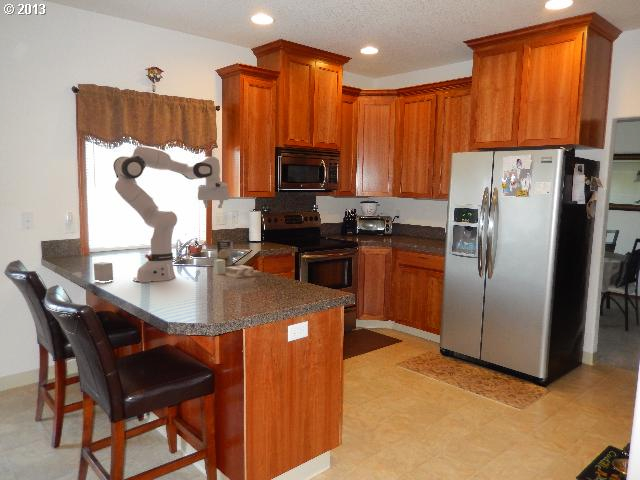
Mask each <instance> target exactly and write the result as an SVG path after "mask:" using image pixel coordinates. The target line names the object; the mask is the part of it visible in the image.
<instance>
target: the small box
mask: <svg viewBox="0 0 640 480" xmlns="http://www.w3.org/2000/svg"><path fill="white" fill-rule="evenodd" d="M113 267H114V266H113V263H112V262H105V261H103V262H96V263H93V272H94V273H93V274H94V281H95V280H99V281H109V280H113V281H114V272H113V271H114V270H113Z"/></svg>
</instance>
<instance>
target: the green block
mask: <svg viewBox="0 0 640 480" xmlns="http://www.w3.org/2000/svg"><path fill="white" fill-rule="evenodd" d="M225 267H226V265H225V260H222V259H219V260H218V259H213V273H214V274H215V275H225Z"/></svg>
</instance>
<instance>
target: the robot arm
mask: <svg viewBox="0 0 640 480" xmlns="http://www.w3.org/2000/svg"><path fill="white" fill-rule="evenodd" d="M146 168H148V169H149V168H150V169H154V170H159V171H171V172H174V173H178V174H181V175H182V176H183V177H185V178H186V179H188V180H197V179H198V180H199V179H204V184H200V185H199V186H198V187H197V190H198V192H197V199H198V201H203V202H202V203H203V204H204V208H205V209H209V207H210V205H209V204H208V203H207V202H208V201H219V204H218V205H217V208H218V209H222V208H223V204H224V201H229V199H230V192H229V189H228V186H229V184H228V183H227V182H224V181H221V177H220V173H221V165H220V161H219V159H218V158H217V157H215V156H205V157H204V158H203V159H201V160H199V161H193V162H181V161H177V160H174V159H172V157H171V154H170V153H168V152H167V151H165V150H163V149H160V148H157V147H153V146H146V145H139V146H137V147H136V148H135V149H134V150H133V154H132V155H130V156H119V157H118V158H116V159H115V160H114V162H113V170H114V173H115V176H116V179H118V180H117V181H116V182H115V184H114V189H115V190H116V192H117V194H118V195H119V196H120V197H121V198H122V199H123V200H124V201H125V202H126V203H127V205H129V206H130V207H132V208H133V210H135V211H136V212H137V213H138V215H139V216H140V217H141V218H142V220H143V221H144V224H146V225H147V226H148V227H150V228H152V229H153V233H152V237H151V238H150V254H146V253H145V255H144V257H145V258H146V259H147V261H146V262H145V263H143V264H142V265H141V266H140V267H139V268H138V270H137V273H136V276H135V277H133V279H134V280H136V281H139V282H138V283H152V282H151V281H154V282H162V281H171V280H172V279H173V280H174V279H175V278H176V274H175V269H174V264H173V263H174V255H173V254H174V253H173V251H172V250H173V249H172V247H173V246H172V241H173V240H172V239H173V234H174V229H175V227H176V225H177V222H178V216H177V214H176V213H175V212H173V211H171V210H169V209H167V208H164V209H162V208H161V207H159V206H158V205H157V203H155V202H156V201H154V198H153V197H152V195H150V193H148V191H146V190H145V189H144V188H143V187H142V186H141V185H139V184H138V182H137V180H136V179H137V178H140V177H141V175H143V172H144V170H145V169H146ZM133 279H132V280H133ZM134 280H133V281H134ZM136 281H135V282H136Z"/></svg>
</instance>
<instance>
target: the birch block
mask: <svg viewBox="0 0 640 480" xmlns="http://www.w3.org/2000/svg"><path fill="white" fill-rule="evenodd" d="M254 272H255V271H254V267H252V266H248V265H244V264H241V265H234V266H233V265H230V266H225V274H224V275H225V276H228V277H230V278H234V279H239V278H245V276H246V277H253V276H254V274H255V273H254ZM238 277H239V278H238Z"/></svg>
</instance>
